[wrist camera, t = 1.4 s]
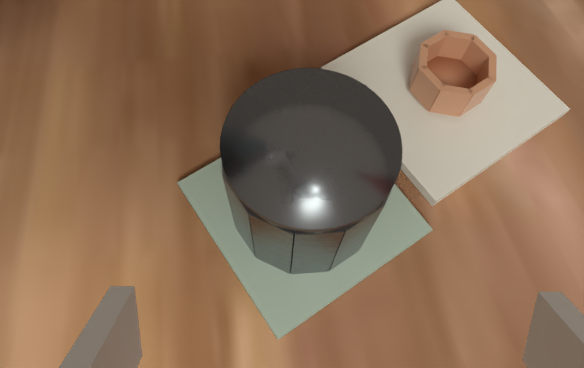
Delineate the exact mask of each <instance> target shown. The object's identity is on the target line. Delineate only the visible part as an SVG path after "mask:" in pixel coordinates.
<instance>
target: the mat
mask: <svg viewBox="0 0 584 368" xmlns="http://www.w3.org/2000/svg"><path fill="white" fill-rule="evenodd" d="M177 183H178V186H179V187H180V189H181V190H182V192H183V193H184V195H185V196H186V198H187V200H188V201H189V203H190V204H191V206H192V207H193V209H194V210H195V212H196V214H197V215H198V217H199V218H200V220H201V221H202V223H203V224H204V226H205V228H206V229H207V231H208V232H209V234H210V235H211V237H212V238H213V240H214V242H215V243H216V245H217V246H218V248H219V249H220V251H221V252H222V254H223V256H224V257H225V259H226V260H227V262H228V263H229V265H230V266H231V268H232V269H233V271H234V273H235V274H236V276H237V277H238V279H239V280H240V282H241V283H242V285H243V287H244V288H245V290H246V291H247V293H248V294H249V296H250V297H251V299H252V301H253V302H254V304H255V305H256V307H257V308H258V310H259V311H260V313H261V315H262V316H263V318H264V319H265V321H266V322H267V324H268V325H269V327H270V329H271V330H272V332H273V333H274V335H275V336H276V338H277V339H278V340H279V339H280V338H282V337H283V336H284V335H286V334H287V333H289V332H290V331H291V330H293V329H294V328H296V327H297V326H299V325H300V324H301V323H303V322H304V321H306V320H307V319H308V318H310V317H311V316H313V315H314V314H315V313H317V312H318V311H320V310H321V309H322V308H324V307H325V306H327V305H328V304H330V303H331V302H332V301H334V300H335V299H337V298H338V297H339V296H341V295H342V294H344V293H345V292H346V291H348V290H349V289H351V288H352V287H353V286H355V285H356V284H358V283H359V282H361V281H362V280H363V279H365V278H366V277H368V276H369V275H370V274H372V273H373V272H375V271H376V270H377V269H379V268H380V267H382V266H383V265H384V264H386V263H387V262H389V261H390V260H392V259H393V258H394V257H396V256H397V255H399V254H400V253H401V252H403V251H404V250H406V249H407V248H408V247H410V246H411V245H413V244H414V243H415V242H417V241H418V240H420V239H421V238H422V237H424V236H425V235H427V234H428V233H430V232H431V231H432V230H433V229H432V228H431V227H430V225H429V224H428V223H427V222H426V221H425V219H424V218H423V217H422V216H421V215H420V213H419V212H418V211H417V210H416V209H415V207H414V206H413V205H412V204H411V203H410V201H409V200H408V199H407V198H406V197H405V196H404V194H403V193H402V192H401V191H400V190H399V188H398V187H397V186H396V185H395V184H394V185H393V187H392V190H391V192H390V194H389V197H388V199H387V201H386V204H385V206H384V208H383V209H382V211H381V213H380V215H379V216H378V218H377V220H376V222H375V224H374V225H373V227H372V229H371V231H370V232H369V234H368V236H367V238H366V239H365V241H364V243H363V245H362V247H361V248H360V250H359V251H358V252H357V253H355V254H354V255H352V256H351V257H349V258H348V259H346V260H345V261H344V262H342V263H341V264H339V265H338V266H336V267H335V268H333V269H332V270H330V271H328V272H318V273H304V274H291V272H290V274H288V273H286V272H284V271H282V270H280V269H278V268H276V267H274V266H272V265H269V264H267V263H265V262H263V261H261V260H259V259H257V258H256V257H255V256H254V255H253V253H252V252H251V250H250V249H249V247H248V246H247V244H246V243H245V241H244V240H243V238H242V237H241V235H240V234H239V232H238V231H237V229H236V228H235V224H234V220H233V216H232V212H231V208H230V204H229V201H228V197H227V193H226V189H225V185H224V181H223V177H222V160H221V158H219V159H217V160H216V161H214V162H212V163H210V164H209V165H207V166H205V167H203V168H202V169H200V170H198V171H196V172H195V173H193V174H191V175H189V176H188V177H186V178H184V179H183V180H181V181H179V182H177Z"/></svg>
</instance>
